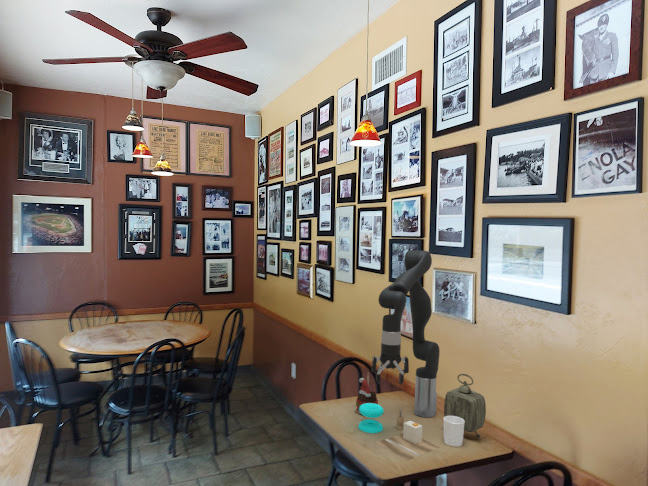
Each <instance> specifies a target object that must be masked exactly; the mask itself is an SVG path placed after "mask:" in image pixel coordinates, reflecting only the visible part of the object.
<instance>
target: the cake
mask: <svg viewBox="0 0 648 486" xmlns="http://www.w3.org/2000/svg"><path fill="white" fill-rule="evenodd" d="M366 374H367V375H366V379H365V378H363V377H360V378H359V379H358V381H359V383H361V385H360V386H359V388H358V390H359V394H358V395H357V398H356V402H355V407H356V409H355V411H356V413H358V414H360V415H362V414H361V413H360V411H359V407H360V406H361V405H362V404H365V403H374V404H378V402H379V400H378V397H377V393H376V392H375V391H374V390H370V372H367V373H366ZM378 405H379V404H378Z"/></svg>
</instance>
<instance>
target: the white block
mask: <svg viewBox="0 0 648 486" xmlns="http://www.w3.org/2000/svg"><path fill="white" fill-rule="evenodd" d="M402 434H403V439H405V440H407V441H409V442H412V443H414V444H417V443H420V442H422V439H423V425H422V424H419V423H418V422H414V421H413V420H408V421H404V427H403V430H402Z"/></svg>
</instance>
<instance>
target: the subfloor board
mask: <svg viewBox="0 0 648 486" xmlns="http://www.w3.org/2000/svg"><path fill="white" fill-rule="evenodd" d="M375 444H377V445H379V446H381V448H382V447H383V448H384V449H386V450H388V451H389V452H391V453H393V454H395V455H397V456H399V457H400V458H401V459H402V458H403V459H404V460H406V461H410V460H413V459H414V458H418V457H420V456H422V455H425V454H427V453H430V452H432V451H435V450H437V449H440V446H438V445H435V444H433V443H432V442H430V441H427V440H425V439H423V438H422V442H420V443H417V444H414V443H412V442H409V441H407V440H405V439H403V433H400V434H397V435H394V436H392V437H389V438H385V439H382V440H380V441H377V442H375Z"/></svg>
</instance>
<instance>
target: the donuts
mask: <svg viewBox="0 0 648 486" xmlns="http://www.w3.org/2000/svg"><path fill="white" fill-rule="evenodd" d="M359 411H360V413H361V414H360V415H362V416H363V417H366V418H368V419H362V420H361V421H360V422H359V423H358V429H359V430H360V431H362V432H364V433H367V434H377V433H381V432H382V431H384V426H383V424H382V423H381V422H380V421H378V420H376V418H381V417H382V415H383V414H384V411H385V410H384V408H383V406H381V405H380V404H374V403H365V404H362V405H361V406H360V407H359ZM374 418H375V419H374Z"/></svg>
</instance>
